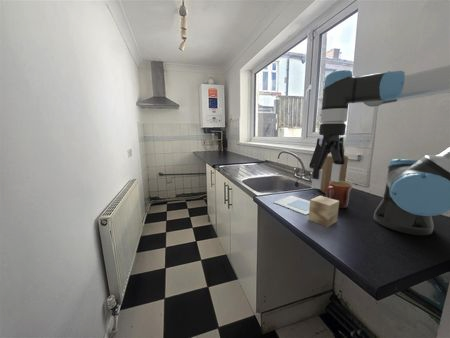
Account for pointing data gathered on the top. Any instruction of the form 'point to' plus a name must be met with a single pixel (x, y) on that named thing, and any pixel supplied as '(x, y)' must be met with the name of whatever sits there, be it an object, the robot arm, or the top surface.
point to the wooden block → (328, 169)
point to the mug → (339, 192)
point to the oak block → (323, 210)
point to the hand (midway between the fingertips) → (325, 184)
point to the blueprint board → (295, 204)
